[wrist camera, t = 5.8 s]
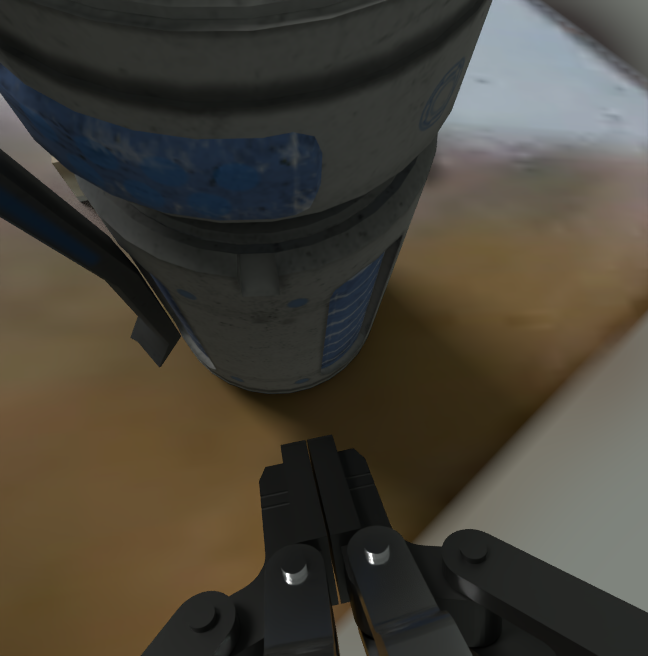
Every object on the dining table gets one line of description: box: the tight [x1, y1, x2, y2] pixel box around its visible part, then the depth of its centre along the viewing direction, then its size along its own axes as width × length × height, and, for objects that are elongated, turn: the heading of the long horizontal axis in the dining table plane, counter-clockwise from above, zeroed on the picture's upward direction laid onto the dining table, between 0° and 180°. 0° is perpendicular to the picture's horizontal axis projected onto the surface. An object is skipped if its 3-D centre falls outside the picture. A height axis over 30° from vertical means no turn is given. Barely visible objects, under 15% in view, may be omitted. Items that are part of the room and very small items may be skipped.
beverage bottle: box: [0, 0, 492, 394], centre depth 16 cm, size 10×13×25 cm
